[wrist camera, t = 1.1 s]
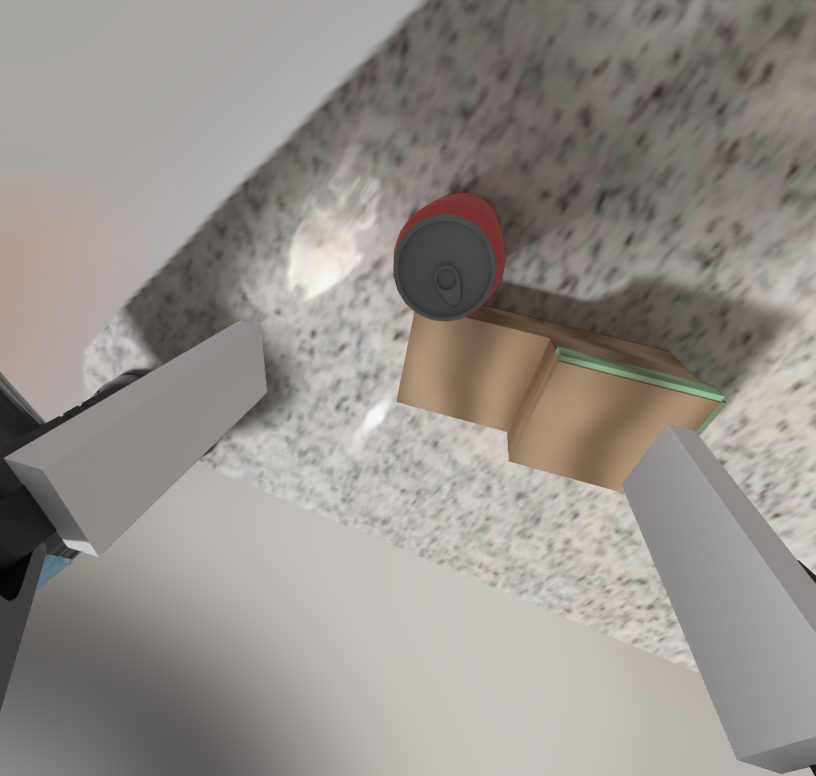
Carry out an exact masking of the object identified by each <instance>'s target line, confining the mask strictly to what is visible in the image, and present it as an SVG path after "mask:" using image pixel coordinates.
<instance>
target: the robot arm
mask: <svg viewBox="0 0 816 776" xmlns="http://www.w3.org/2000/svg"><path fill="white" fill-rule="evenodd" d="M266 393H267V386H266V375H265V364H264V353H263V342H262V331H261V325H257V324H253V323H249V322H245V321H241V320H239V321H237V322H236V323H234V324H232V325H231V326H229V327H227V328H226V329H224V330H222V331H220V332H219V333H217V334H215V335H214V336H212V337H210V338H208V339H207V340H205V341H203V342H202V343H200V344H198V345H196V346H195V347H193V348H191V349H190V350H188V351H186V352H184V353H183V354H181V355H179V356H178V357H176V358H174V359H172V360H171V361H169V362H167V363H166V364H164V365H162V366H160V367H159V368H157V369H155V370H154V371H152V372H150V373H148V374H147V375H145V376H141V375H134V374H128V375H122V376H119V377H117V378H116V379H114V380H112V381H110V382H108V383H107V384H105V385H103V386H102V387H100V388H99V389H98V390H97V392H96V393H95V394H94V396H93V397H92V398H90V399H88V400H87V401H85V402H83V403H82V405H81V406H76V407H74V408H72V409H71V410H69V411H67V412H65V413H64V415H63V416H62V417H60V416H58V417H56V418H55V419H53V420H51V421H49V422H47V423H46V422H45V421H44V420H43V418H42V417H41V416H40V415H39V414H38V413H37V412H36V411H35V410H34V409H33V408H32V406H31V405H30V404H29V403H28V402H27V401H26V400H25V399H24V398H23V397H22V396H21V394H20V393H19V392H18V391H17V390H16V389H15V388H14V387H13V386H12V385H11V384H10V382H9V381H8V380H7V379H6V378H5V377H4V376H3V375H2V373H1V372H0V710H1V707H2V704H3V700H4V697H5V693H6V690H7V686H8V683H9V680H10V676H11V673H12V669H13V666H14V662H15V659H16V655H17V652H18V649H19V646H20V642H21V639H22V635H23V632H24V628H25V625H26V622H27V618H28V615H29V611H30V608H31V605H32V601H33V598H34V594H35V592H36V591H37V590H38V589H39V588H41V587H42V586H43V585H44V584H45V583H47V582H48V581H49V580H50V579H52V578H53V577H54V576H55V575H56V574H58V573H59V572H60V571H61V570H62V569H64V567H66V566H68V565H70V564H71V563H72V562H73V559H74V558H75V557H76V556H78V555H79V554H80V553H81V552H85V553H88V554H91V555H94V556H97V557H100V556H101V555H102V554H103V553H104V552H105V551H106V550H107V549H108V548H109V547H110V546H111V545H112V544H113V543H114V542H115V541H116V540H117V539H118V538H119V537H120V536H121V535H122V534H123V533H124V532H125V531H126V530H127V529H128V528H129V527H130V526H131V525H132V524H133V523H134V522H135V521H136V520H137V519H138V518H139V517H140V516H142V515H143V514H144V513H145V512H146V511H147V510H148V509H149V508H150V507H151V506H152V505H153V504H154V503H155V502H156V501H157V500H158V499H159V498H160V497H161V496H162V495H163V494H164V493H165V492H166V491H167V490H168V489H169V488H170V487H171V486H172V485H173V484H174V483H175V482H176V481H177V480H178V479H179V478H180V477H181V476H182V475H183V474H184V473H186V471H188V470H189V469H190V468H191V467H192V466H193V465H194V464H195V463H196V462H197V461H198V460H199V459H200V458H201V457H202V456H203V455H204V454H205V453H206V452H207V451H208V450H209V449H210V448H211V447H212V446H213V445H214V444H215V443H216V442H217V441H218V440H219V439H220V438H221V437H222V436H223V435H224V434H225V433H226V432H227V431H228V430H229V429H230V428H231V427H232V426H234V425H235V424H236V423H237V422H238V421H239V420H240V419H241V418H242V417H243V416H244V415H245V414H246V413H247V412H248V411H249V410H250V409H251V408H252V407H253V406H254V405H255V404H256V403H257V402H258V401H259V400H260V399H261V398H262V397H263V396H264V395H265V394H266ZM622 487H623V489H624V492H625V494H626V497H627V499H628V501H629V504H630V506H631V509H632V511H633V513H634V516H635V518H636V520H637V523H638V525H639V528H640V530H641V532H642V535H643V537H644V539H645V542H646V544H647V547H648V549H649V551H650V554H651V556H652V559H653V561H654V563H655V566H656V568H657V570H658V573H659V575H660V578H661V580H662V582H663V585H664V587H665V590H666V592H667V594H668V597H669V599H670V601H671V604H672V606H673V609H674V611H675V613H676V616H677V618H678V621H679V623H680V625H681V628H682V630H683V632H684V635H685V637H686V640H687V642H688V644H689V647H690V649H691V652H692V654H693V656H694V659H695V661H696V663H697V666H698V668H699V671H700V673H701V675H702V678H703V680H704V682H705V685H706V687H707V690H708V692H709V694H710V697H711V699H712V702H713V704H714V706H715V709H716V711H717V713H718V716H719V718H720V721H721V723H722V725H723V728H724V730H725V733H726V735H727V737H728V740H729V742H730V744H731V747H732V749H733V752H734V754H735V756H736V759H737V760H739V761H743V762H746V763H749V764H752V765H755V766H758V767H762V768H764V769H768V770H771V771H774V772H777V773H780V774H783V773H787V772H791V771H795V770H799V769H803V768H807V767H810V768H811V770H812V772H813V773H814V775H815V776H816V575H814V574H813V573H812V572H811V571H810V570H809V569H808V568H807V567H806V566H804V565H803V564H802V563H801V562H800V561H799V560H796V558H795V557H794V556H793V555H792V553H791V552H790V551H789V549H788V548H787V547H786V546H785V544H784V543H783V542H782V541H781V539H780V538H779V537H778V536H777V534H776V533H775V532H774V531H773V529H772V528H771V527H770V525H769V524H768V523H767V522H766V520H765V519H764V518H763V517H762V515H761V514H760V513H759V512H758V510H757V509H756V508H755V507H754V505H753V504H752V503H751V501H750V500H749V499H748V498H747V496H746V495H745V494H744V493H743V491H742V490H741V489H740V488H739V486H738V485H737V484H736V483H735V481H734V480H733V479H732V477H731V476H730V475H729V474H728V472H727V471H726V470H725V469H724V467H723V466H722V465H721V464H720V462H719V461H718V460H717V458H716V457H715V456H714V455H713V453H712V452H711V451H710V450H709V448H708V447H707V446H706V445H705V443H704V442H703V441H702V440H701V438H700V437H699V436H698V434H697V433H696V432H695V431H694V430H690V429H686V428H682V427H678V426H674V425H669V424H668V425H667V426H666V427H665V429H664V430H663V431H662V432H661V434H660V435H659V436H658V438H657V439H656V440H655V442H654V443H653V444H652V446H651V447H650V448H649V449H648V451H647V452H646V453H645V455H644V456H643V457H642V459H641V460H640V461H639V462H638V464H637V465H636V466H635V468H634V469H633V470H632V472H631V473H630V474H629V476H628V477H627V478H626V479H625V481H624V482H623V483H622Z"/></svg>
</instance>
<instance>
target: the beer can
mask: <svg viewBox="0 0 816 776" xmlns="http://www.w3.org/2000/svg"><path fill="white" fill-rule="evenodd" d="M505 262H506V257H505V247H504V240H503V235H502V230H501V226H500V222H499V219H498V217H497V215H496V213H495V211H494V209H493V208H492V207H491V206H490V205H489V204H488V203H487V202H486V201H485V199H483V198H481V197H478V196H476V195H474V194H472V193H461V192H458V193H454V194H451V195H447V196H444V197H442V198H440V199H438V200H436V201H434V202H432V203H430V204H428V205H427V206H425V207H424V208H422V209H421V210H419V211H418V212H417V213H415V214H414V215H412V216H411V218H410V219H409V220H408V222H407V223H406V224H405V226H404V227H403V228H402V230H401V231H400V234H399V237H398V240H397V243H396V245H395V248H394V268H393V269H394V279H395V282H396V286H397V290H398V292H399V293H400V295H401V297H402V298H403V300H404V301H405V303H406V304H407V305H408V306H409V307H410V308H411V309H412V310H414V311H415V312H416V313H417V314H419V315H421V316H423V317H426V318H428V319H430V320H436V321H443V322H447V321H453V320H459V319H462V318H464V317H466V316H468V315H470V314H472V313H474V312H475V311H476V310H477V309H479V308H480V307H481V306H482V305H483V304H484V303H485V302H486V301H487V300H488V299H489V298H490V297H491V296H492V295H493V294H494V292H495V290H496V289H497V287H498V285H499V283H500V281H501V280H502V276H503V272H504V267H505Z"/></svg>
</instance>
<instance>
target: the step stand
mask: <svg viewBox="0 0 816 776" xmlns="http://www.w3.org/2000/svg"><path fill="white" fill-rule="evenodd" d="M724 397H725V396H724V395H723V394H722V393H721V392H720V391H719V390H717V389H716V388H715V387H714V386H712V385H708V384H704V383H701V382H700V381H699V380H698V379H697V378H696V377H695V376H694V375H693V374H692V373H691V372H690V371H688V370H687V369H686V368H685V367H684V366H683V365H682V364H681V363H680V362H679V361H678V360H677V359H676V358H675V357H674V356H673V355H672V354H671V353H670V352H669V351H666V350H662V349H658V348H654V347H650V346H646V345H642V344H637V343H633V342H629V341H625V340H621V339H617V338H613V337H609V336H605V335H601V334H597V333H593V332H589V331H585V330H581V329H577V328H573V327H569V326H564V325H560V324H556V323H552V322H548V321H544V320H540V319H536V318H532V317H528V316H524V315H520V314H516V313H512V312H508V311H504V310H500V309H496V308H491V307H487V306H483V305H482V306H481V307H480V308H479V309H477V310H476V311H475V312H474V313H472V314H470V315H468V316H466V317H464V318H462V319H459V320H453V321H447V322H443V321H436V320H430V319H428V318H426V317H423V316H421V315H419V314H417V313H416V312H415V313H414V318H413V322H412V327H411V332H410V337H409V342H408V347H407V352H406V357H405V362H404V367H403V372H402V377H401V382H400V387H399V392H398V397H397V402H399V403H403V404H406V405H410V406H414V407H417V408H421V409H425V410H428V411H432V412H436V413H440V414H443V415H447V416H451V417H454V418H458V419H462V420H465V421H469V422H473V423H476V424H480V425H484V426H487V427H491V428H495V429H499V430H502V431H506V432H507V437H508V452H509V461H510V462H514V463H517V464H521V465H525V466H528V467H532V468H535V469H539V470H543V471H546V472H550V473H554V474H557V475H561V476H564V477H568V478H572V479H575V480H579V481H582V482H586V483H590V484H593V485H597V486H600V487H604V488H608V489H611V490H615V491H618V492H622V493H625V492H624V489H623V487H622V483H623V482H624V481H625V479H626V478H627V477H628V476H629V474H630V473H631V472H632V470H633V469H634V468H635V466H636V465H637V464H638V462H639V461H640V460H641V459H642V457H643V456H644V455H645V453H646V452H647V451H648V449H649V448H650V447H651V446H652V444H653V443H654V442H655V440H656V439H657V438H658V436H659V435H660V434H661V432H662V431H663V430H664V429H665V427H666V426H667V425H668V424H669V425H674V426H678V427H682V428H686V429H690V430H694V431H695V432H696V433H697V434H698V436H699V435H700V434H701V433H702V432H703V430H704V429H705V428H706V427H707V426H708V425H709V424H710V423H711V421H712V420H713V419H714V418H715V417H716V416H717V415H718V414H719V413H720V411H721V410H722V409H723V408H724V407H725V406H726V405H727V403H726V402H725V401H724V400H723V399H724Z"/></svg>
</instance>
